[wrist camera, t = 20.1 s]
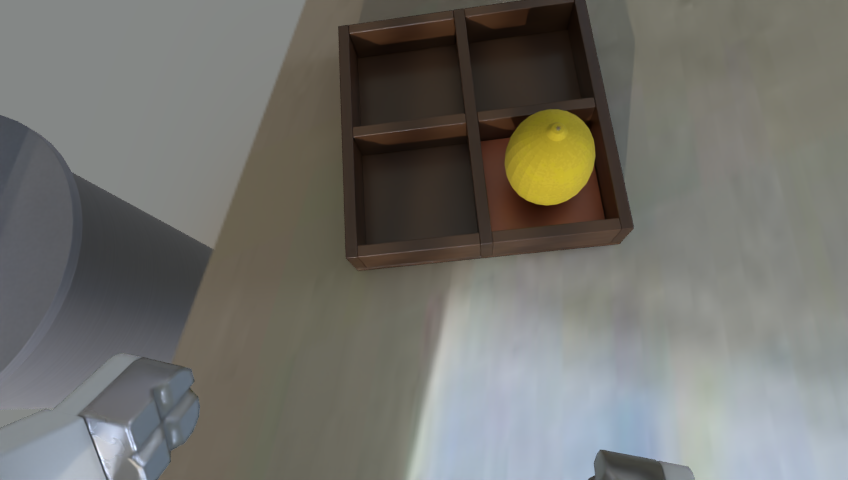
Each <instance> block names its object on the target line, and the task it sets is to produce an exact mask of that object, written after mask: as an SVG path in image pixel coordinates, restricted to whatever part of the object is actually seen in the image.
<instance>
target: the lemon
mask: <svg viewBox="0 0 848 480" xmlns="http://www.w3.org/2000/svg"><path fill="white" fill-rule="evenodd" d="M594 161H595V145H594V139H593V137H592V134H591V132H590V130H589V128H588V127H587V125H586V124H585V123H584V122H583V121H582V120H581V119H580V118H578V117H577V116H576V115H574V114H572V113H570V112H567V111H563V110H559V109H548V110H544V111H539V112H537V113H535V114H533V115H531V116H529V117H528V118H526V119H525V120H524V121H523V122H522V123H521V124H520V125H519V126H518V127H517V129H516V130H515V131H514V133H513V134H512V136H511V138H510V140H509V143H508V146H507V148H506V152H505V170H506V175H507V178H508V180H509V182H510V184H511V186H512V188H513V189H514V190H515V191H516V192H517V194H518V195H519V196H521V197H522V198H524V199H525V200H527V201H529V202H532V203H534V204H539V205H546V206H547V205H556V204H559V203H562V202H565V201H567V200H569V199H570V198H572V197H573V196H575V195H576V194H578V192H579V191H580V190H581V189H582V188H583V187H584V186H585V185H586V183H587V182H588V179H589V177H590V175H591V173H592V171H593V167H594Z"/></svg>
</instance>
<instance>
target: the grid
mask: <svg viewBox="0 0 848 480" xmlns="http://www.w3.org/2000/svg"><path fill="white" fill-rule="evenodd" d="M338 32H339V63H340V94H341V124H342V155H343V186H344V217H345V248H346V259H347V260H348V261H349V262H350V263H351V264H352V265H353V266H354V267H355V268H356V269H357V270H358V271H361V270H371V269H380V268H390V267H400V266H410V265H419V264H429V263H439V262H448V261H458V260H468V259H478V258H487V257H497V256H507V255H517V254H526V253H536V252H546V251H555V250H565V249H575V248H585V247H594V246H604V245H614V244H620V243H621V241H623V239H624V238H625V237H626V236H627V235H628V234H629V233H630V232H631V231H632V230H633V229H634V225H633V221H632V216H631V211H630V207H629V202H628V197H627V193H626V188H625V183H624V179H623V174H622V169H621V165H620V160H619V155H618V151H617V146H616V141H615V137H614V132H613V127H612V123H611V118H610V113H609V109H608V104H607V99H606V94H605V90H604V85H603V80H602V76H601V71H600V66H599V62H598V57H597V52H596V48H595V43H594V38H593V34H592V29H591V24H590V20H589V15H588V10H587V6H586V1H585V0H521V1H514V2H507V3H500V4H493V5H486V6H479V7H472V8H465V9H456V10H451V11H444V12H437V13H430V14H423V15H416V16H409V17H402V18H395V19H388V20H381V21H374V22H367V23H360V24H353V25H349V26H348V25H345V26H339V27H338ZM548 109H559V110H563V111H567V112H570V113H572V114H574V115H576V116H577V117H578V118H580V119H581V120H582V121H583V122H584V123H585V124H586V125H587V127H588V128H589V130H590V132H591V134H592V137H593V139H594V145H595V161H594V167H593V171H592V173H591V175H590V177H589V179H588V182H587V183H586V185H585V186H584V187H583V188H582V189H581V190H580V191H579V192H578V194H576V195H575V196H573V197H572V198H570V199H569V200H567V201H565V202H562V203H559V204H556V205H547V206H546V205H539V204H534V203H532V202H529V201H527V200H525V199H524V198H522V197H521V196H519V195H518V194H517V192H516V191H515V190H514V189H513V188H512V186H511V184H510V182H509V180H508V178H507V175H506V170H505V152H506V148H507V146H508V143H509V140H510V138H511V136H512V134H513V133H514V131H515V130H516V129H517V127H518V126H519V125H520V124H521V123H522V122H523V121H524V120H525V119H526V118H528V117H529V116H531V115H533V114H535V113H537V112H539V111H544V110H548Z"/></svg>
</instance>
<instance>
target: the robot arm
mask: <svg viewBox="0 0 848 480" xmlns="http://www.w3.org/2000/svg"><path fill="white" fill-rule="evenodd" d="M193 383H194V377H193V373H192V370H191V369H189V368H186V367H183V366H178V365H174V364H170V363H165V362H161V361H157V360H152V359H148V358H144V357H138V356H134V355H129V354H125V353H120V354H117V355H114V356H112V357H111V358H110V359H109V360H108V361H106V362H105V363H104V364H103V365H102V366H101V367H100V368H99V369H98V370H96V371H95V372H94V373H93V374H92V375H91V376H90V377H89V378H87V379H86V380H85V381H84V382H83V383H82V384H81V385H80V386H79V387H77V388H76V389H75V390H74V391H73V392H72V393H71V394H70V395H69V396H67V397H66V398H65V399H64V400H63V401H62V402H61V403H60V404H59V405H57V406H56V407H55V408H54V409H53V410H49V409H44V410H41V411H39V412H37V413H34V414H32V415H30V416H27V417H25V418H23V419H20V420H18V421H15V422H13V423H10V424H8V425H6V426H3V427H1V428H0V480H157V479H158V478H159V477H160V475H161V474H162V473H163V471H164V470H165V469H166V467H167V466H168V465H169V463H170V462H171V450H173V449H175V448H177V447H178V446H180V445H182V444H184V443H185V442H186V441H187V439H188V438H189V436H190V435H191V434H192V432H193V430H194V428H195V425H196V423H197V420H198V418H199V410H200V404H199V399H198V396H197V395H196V394H195V393H194V392H193V391H192V390H191V389H190V386H191V385H192V384H193ZM594 469H595V476H593V477H591V478H589V479H588V480H695V478H694V475H693V472H692V471H691V470H690V468H689V467H687V466H682V465H677V464H672V463H667V462H662V461H656V460H653V459H648V458H643V457H637V456H632V455H627V454H622V453H616V452H611V451H606V450H600V451H599V452H598V453H597V455H596V458H595V461H594Z"/></svg>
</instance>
